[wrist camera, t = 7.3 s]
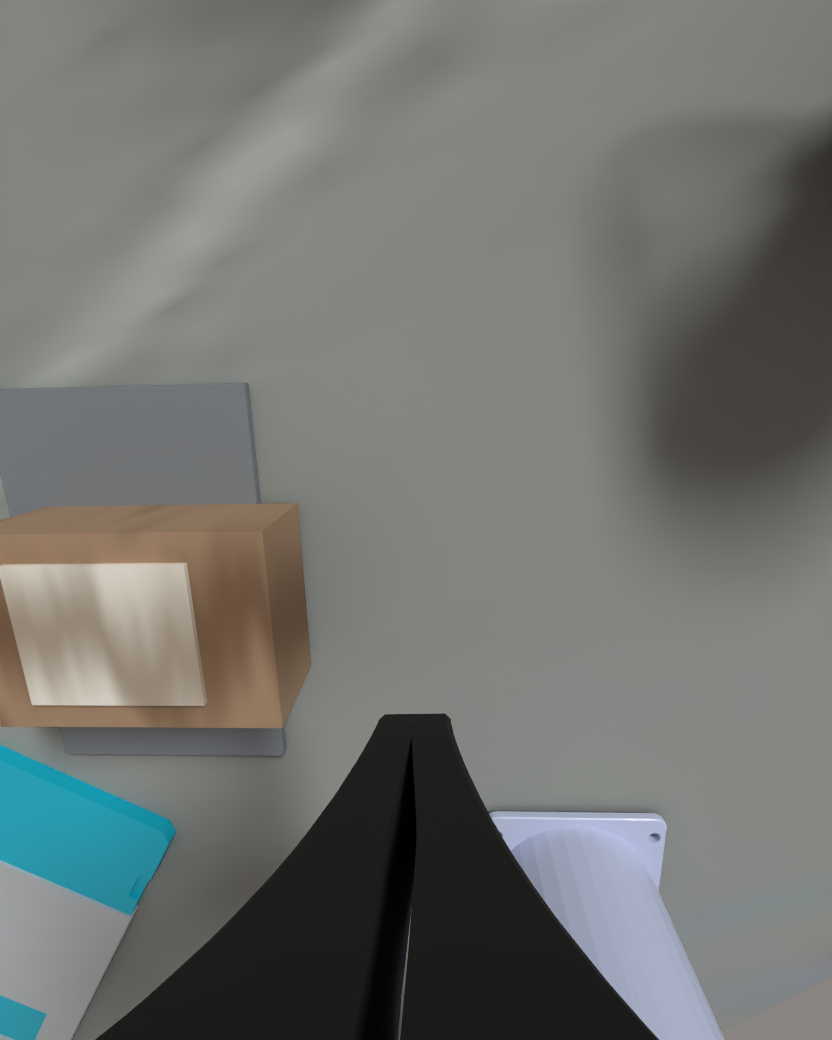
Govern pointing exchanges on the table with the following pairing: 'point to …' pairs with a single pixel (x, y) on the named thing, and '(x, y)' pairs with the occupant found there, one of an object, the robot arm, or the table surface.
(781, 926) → the table surface
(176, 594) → the cardboard box
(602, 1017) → the robot arm
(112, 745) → the slate mat
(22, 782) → the diskette
